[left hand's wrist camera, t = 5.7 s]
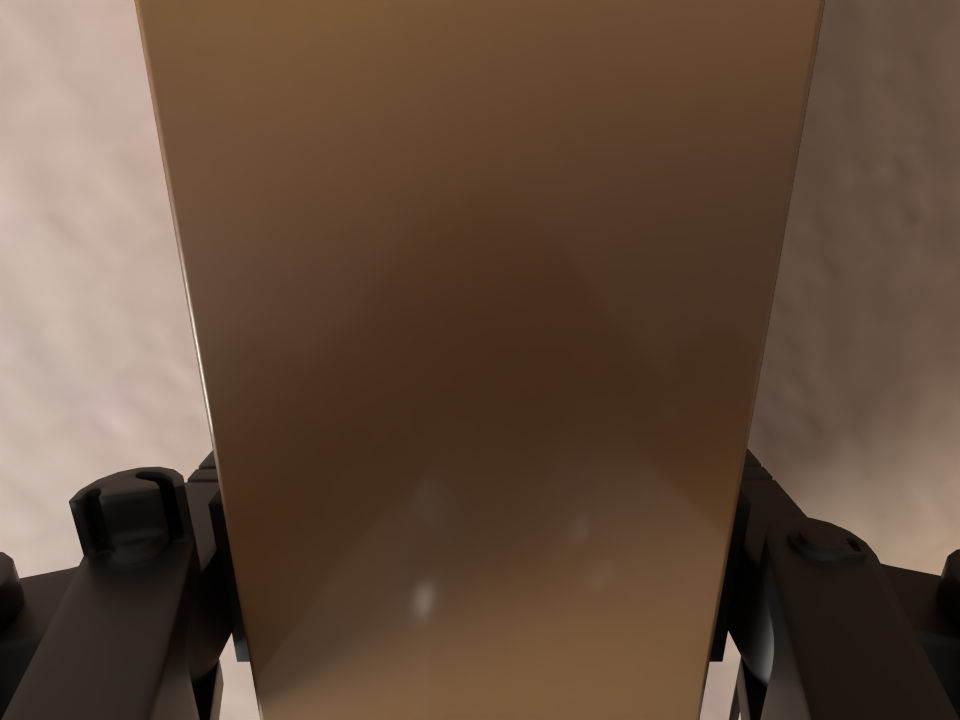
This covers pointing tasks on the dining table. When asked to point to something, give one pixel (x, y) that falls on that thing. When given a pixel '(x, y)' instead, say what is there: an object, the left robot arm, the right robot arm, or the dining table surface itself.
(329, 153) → the bar
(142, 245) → the dining table surface
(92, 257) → the dining table surface
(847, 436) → the dining table surface
